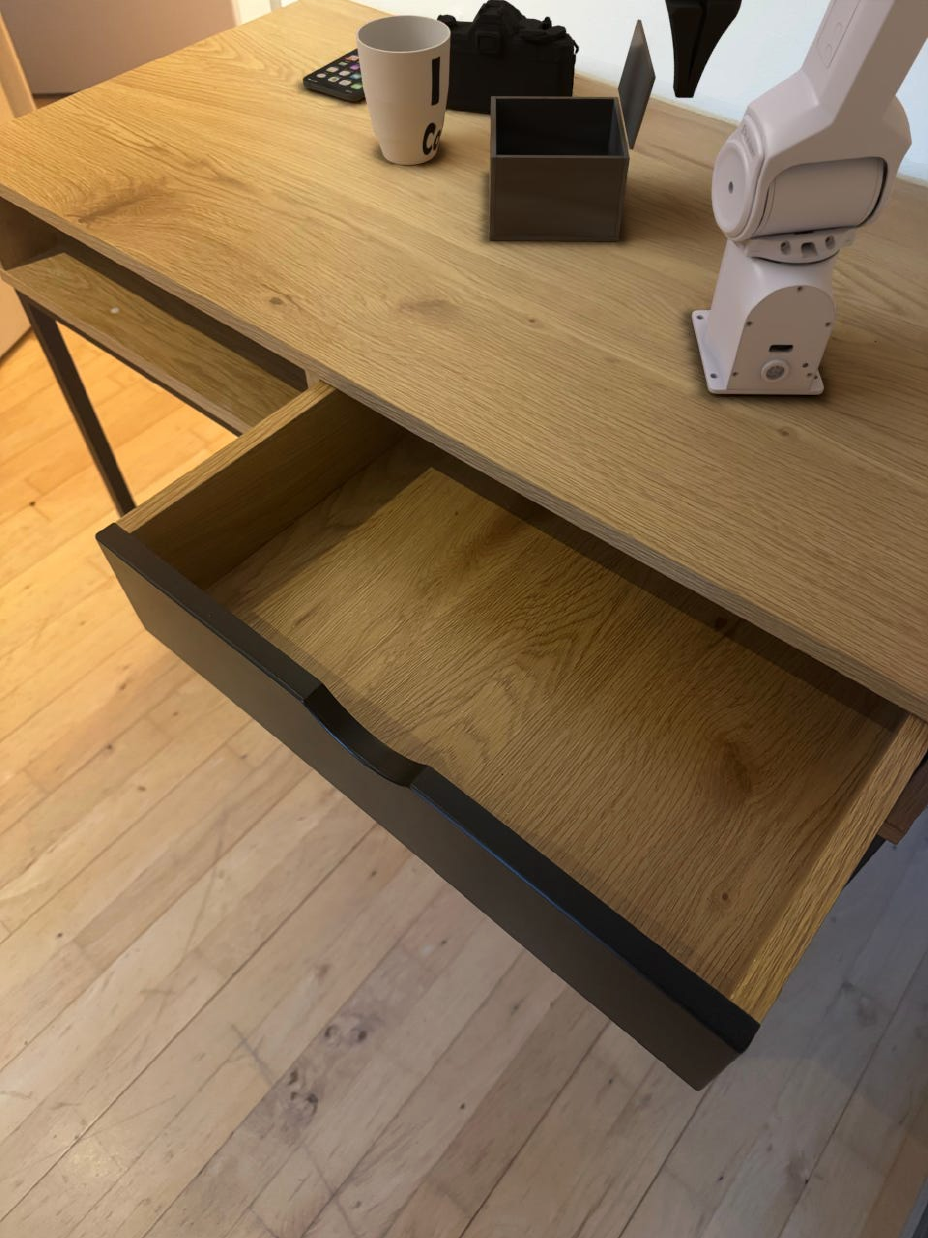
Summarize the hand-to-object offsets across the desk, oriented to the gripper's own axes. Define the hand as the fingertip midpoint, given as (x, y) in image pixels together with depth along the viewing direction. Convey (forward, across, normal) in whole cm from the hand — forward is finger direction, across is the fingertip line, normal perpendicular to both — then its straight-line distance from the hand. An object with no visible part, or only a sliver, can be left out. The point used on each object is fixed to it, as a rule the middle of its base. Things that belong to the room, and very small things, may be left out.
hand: (683, 92), depth 71 cm
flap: (-1, +4, 0) cm, 4 cm away
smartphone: (+10, +28, -28) cm, 41 cm away
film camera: (+10, +14, -22) cm, 28 cm away
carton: (+9, +10, 0) cm, 14 cm away
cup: (+10, +23, -10) cm, 27 cm away
